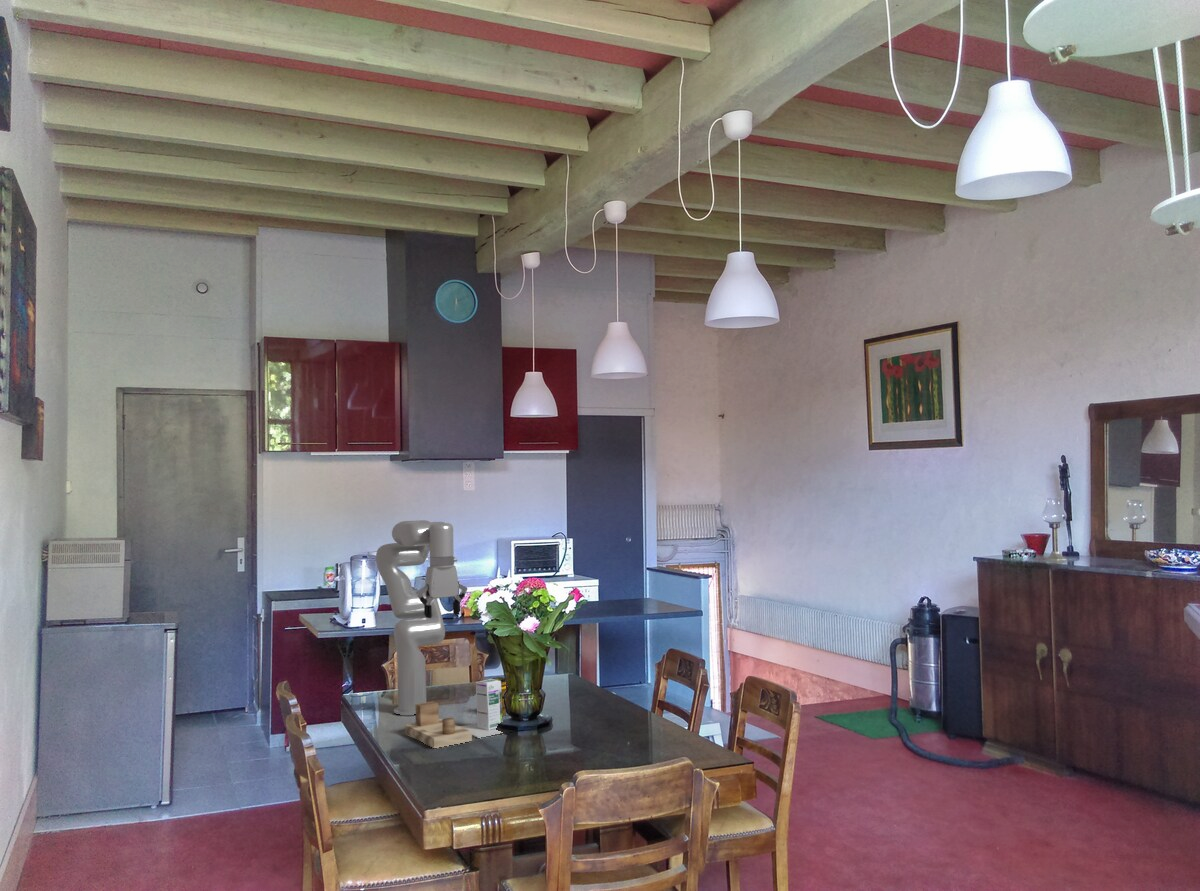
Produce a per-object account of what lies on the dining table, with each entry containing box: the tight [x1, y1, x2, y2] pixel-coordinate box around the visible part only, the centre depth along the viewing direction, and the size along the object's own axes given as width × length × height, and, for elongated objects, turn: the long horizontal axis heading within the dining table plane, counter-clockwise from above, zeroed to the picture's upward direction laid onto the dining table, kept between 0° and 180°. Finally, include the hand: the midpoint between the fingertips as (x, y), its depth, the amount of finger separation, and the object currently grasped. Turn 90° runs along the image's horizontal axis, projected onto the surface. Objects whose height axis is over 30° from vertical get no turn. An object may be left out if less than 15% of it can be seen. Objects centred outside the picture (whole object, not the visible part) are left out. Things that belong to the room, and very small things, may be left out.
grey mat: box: [459, 723, 503, 739], centre depth 292 cm, size 16×16×1 cm
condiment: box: [491, 676, 507, 717], centre depth 313 cm, size 7×8×12 cm
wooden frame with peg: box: [404, 701, 473, 749], centre depth 284 cm, size 22×12×9 cm, turn 33°
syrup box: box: [475, 678, 504, 730], centre depth 293 cm, size 6×6×14 cm
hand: (442, 615), depth 299 cm, fingers open, 9 cm apart
